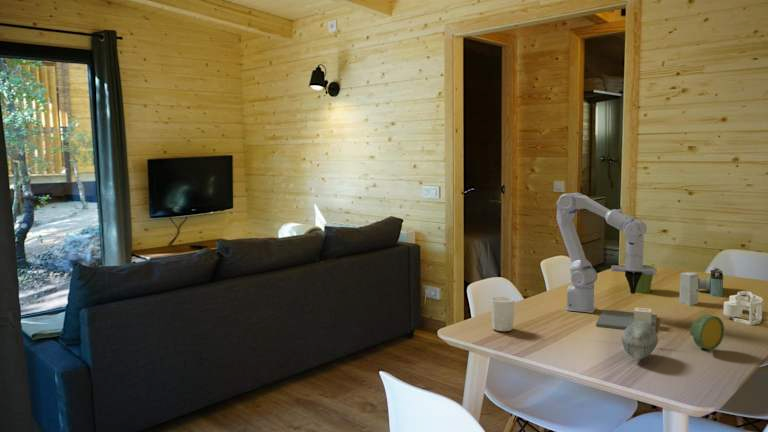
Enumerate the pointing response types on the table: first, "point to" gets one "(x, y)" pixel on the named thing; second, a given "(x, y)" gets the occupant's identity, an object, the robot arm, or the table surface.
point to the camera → (713, 283)
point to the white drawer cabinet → (643, 314)
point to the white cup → (502, 313)
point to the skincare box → (688, 288)
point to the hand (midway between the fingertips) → (632, 293)
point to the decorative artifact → (707, 331)
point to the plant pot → (644, 282)
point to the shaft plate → (619, 319)
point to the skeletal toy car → (744, 307)
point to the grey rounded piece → (639, 339)
